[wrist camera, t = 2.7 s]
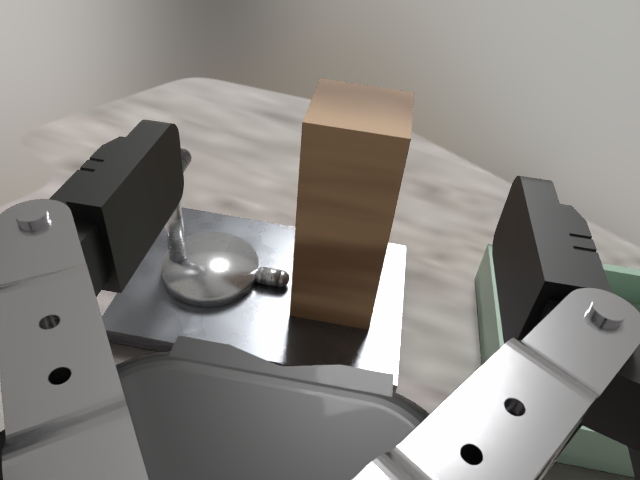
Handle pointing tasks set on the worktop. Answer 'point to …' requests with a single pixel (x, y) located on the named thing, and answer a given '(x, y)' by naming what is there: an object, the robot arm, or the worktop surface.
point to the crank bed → (246, 296)
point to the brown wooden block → (347, 198)
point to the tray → (587, 443)
